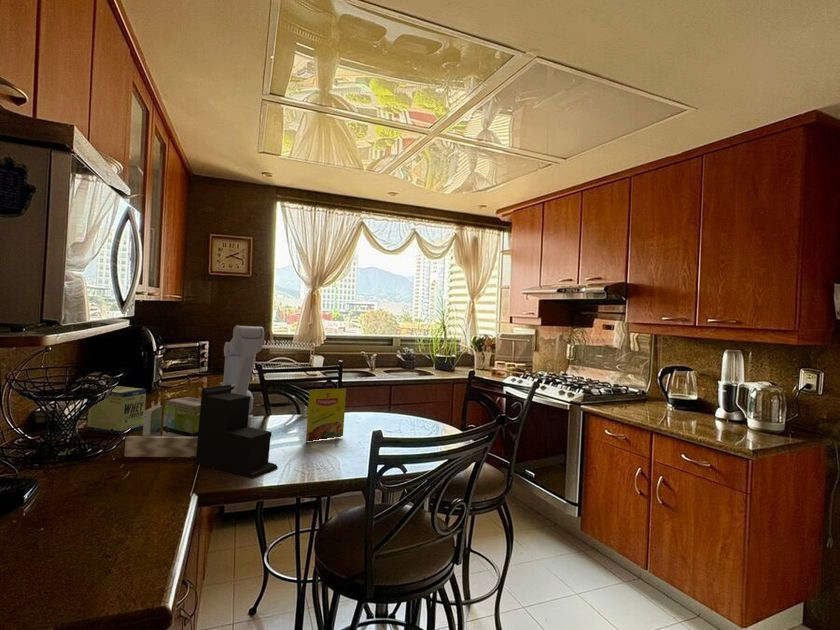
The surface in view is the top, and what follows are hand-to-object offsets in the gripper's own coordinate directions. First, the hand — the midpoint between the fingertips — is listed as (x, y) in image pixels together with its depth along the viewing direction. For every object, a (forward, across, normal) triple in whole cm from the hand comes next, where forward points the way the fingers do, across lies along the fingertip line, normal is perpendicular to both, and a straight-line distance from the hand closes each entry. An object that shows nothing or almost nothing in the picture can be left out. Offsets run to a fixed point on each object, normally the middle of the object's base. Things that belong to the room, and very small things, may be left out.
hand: (229, 405), depth 177 cm
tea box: (+10, +19, -9) cm, 23 cm away
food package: (+10, +16, +39) cm, 43 cm away
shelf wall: (+9, +36, -9) cm, 38 cm away
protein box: (+10, +4, -39) cm, 40 cm away
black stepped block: (+10, +46, +13) cm, 49 cm away
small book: (+9, +30, -17) cm, 36 cm away
